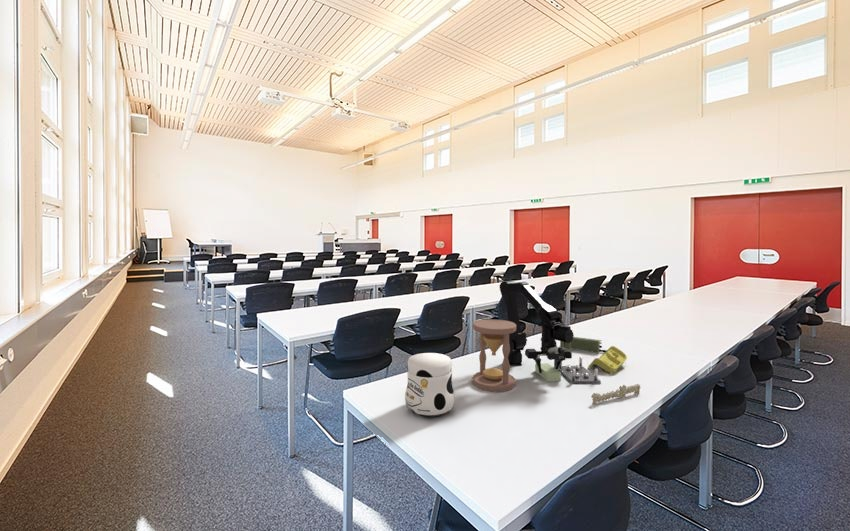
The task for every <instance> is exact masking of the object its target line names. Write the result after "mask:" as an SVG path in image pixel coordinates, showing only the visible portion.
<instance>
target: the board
mask: <svg viewBox="0 0 850 531" xmlns="http://www.w3.org/2000/svg"><path fill="white" fill-rule="evenodd" d="M534 368H535V369H534V371H535V372H536V373H537V374H538V375H539V374H540V375H541V376H540V375H539V376H540V377H542V379H544V380H545V381H547V382H556V381H557V382H558V381H561V380H562V373H561V372H560V371H559V370H557V369H555V368H554V365H553V366H552V365H551V364H550V363H548V362H547V363H545V362H543V363H541V373H539V370H538V367H537V364H536V363H535V366H534Z"/></svg>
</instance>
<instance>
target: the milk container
mask: <svg viewBox="0 0 850 531" xmlns="http://www.w3.org/2000/svg"><path fill="white" fill-rule="evenodd" d="M452 365H453V364H452V358H450V356H448V355H446V354H443V353H437V352H423V353H416V354H413V355H411V356H410V357H408V360H407V373H406V374H407V385H406V387H405V388H406V390H405V394H404V397H405V398H404V399H405V405H406V408H407V409H408V411H410V412H411V413H413V414H415V415H418V416H421V417H427V418H428V417H431V418H432V417H439V416H443V415H445V414H446V413H447V414H448V413H449V412H450V411H451V410H452V408H453V407H454V404H455V391H454V388H453V387H454V386H453V382H452V381H453V370H452V368H453V367H452Z"/></svg>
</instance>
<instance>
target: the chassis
mask: <svg viewBox="0 0 850 531" xmlns="http://www.w3.org/2000/svg"><path fill="white" fill-rule="evenodd" d="M558 371H559V372H561V375H562V376H564V377H565V378H566V379H567V381H568V382H570V383H571V384H574V385H575V384H577V385H578V384H601V383H602V382H601V380H600V379H599V378H598V374H599V372H598V371H599V369H598V368H594V372H593V373H594V374H593V373H591V372H590V371H589V370H588V369H587V368H585V367H584V366H583V357H582V356H579V360H578V365H569V364H568V365H563V361H562V362H561V363H560V365H559V367H558Z"/></svg>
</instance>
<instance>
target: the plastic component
mask: <svg viewBox="0 0 850 531" xmlns="http://www.w3.org/2000/svg"><path fill="white" fill-rule="evenodd" d="M627 359H628V357H627V355H626V353H625V352H624V351H622V350H621V349H619V348H618V347H616V346H615V345H611V346H610V347H609V348H607V351H606V352H605V353H604V352H603V354H602V355H601V356H600V357H599V358H598V357H595V358H594V359H593V360H592V361H591V363H590V364H589V365H588V368H590V369H591V368H593V367H594V366H595V365H597V366H598V367H599V368H601V369H603V370H604V371H605V372H607V373H608V374H614V373H616V371H618V370H619V369H620V368H621V367H622V366H623V364H624V363H625V362H626V361H627Z"/></svg>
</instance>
